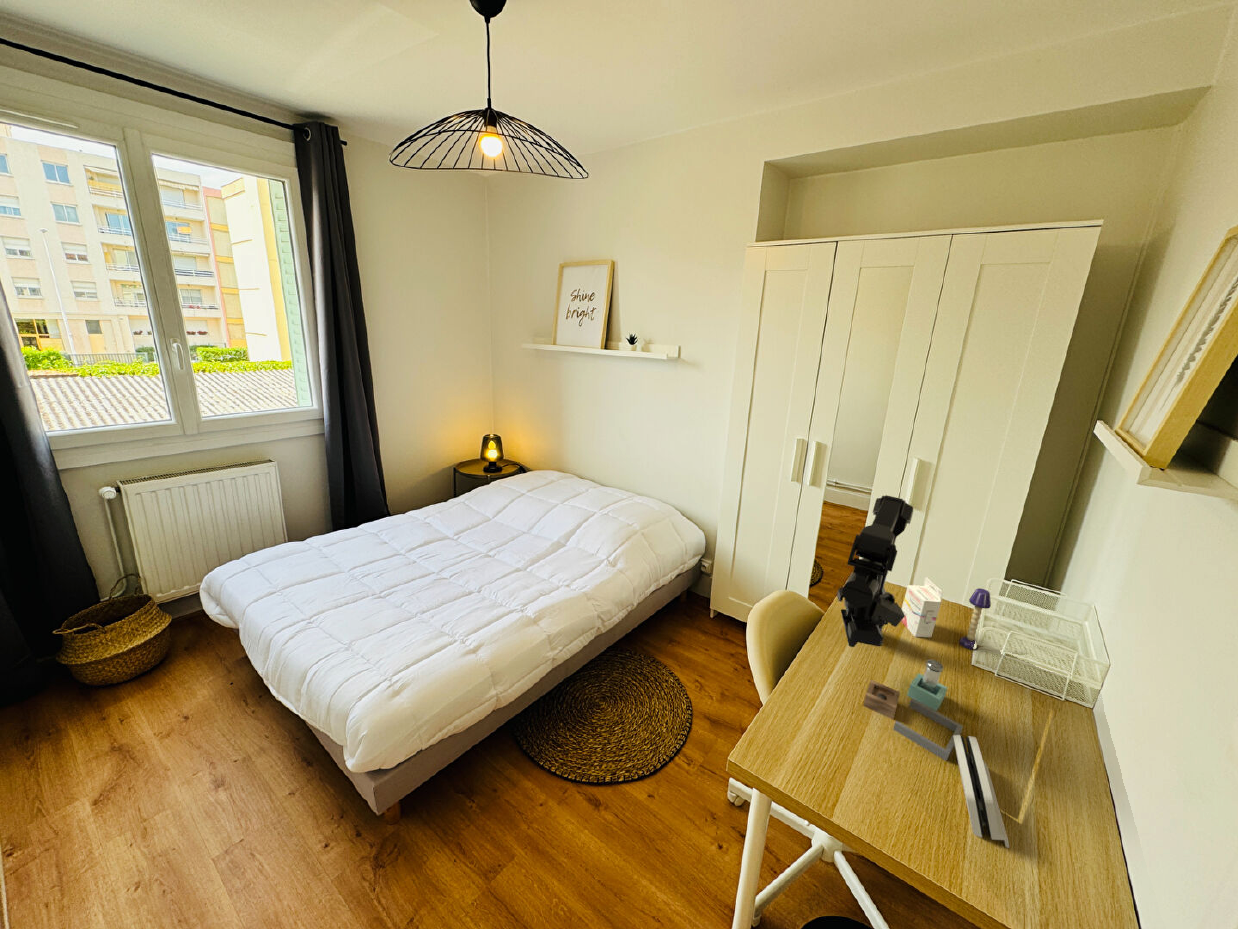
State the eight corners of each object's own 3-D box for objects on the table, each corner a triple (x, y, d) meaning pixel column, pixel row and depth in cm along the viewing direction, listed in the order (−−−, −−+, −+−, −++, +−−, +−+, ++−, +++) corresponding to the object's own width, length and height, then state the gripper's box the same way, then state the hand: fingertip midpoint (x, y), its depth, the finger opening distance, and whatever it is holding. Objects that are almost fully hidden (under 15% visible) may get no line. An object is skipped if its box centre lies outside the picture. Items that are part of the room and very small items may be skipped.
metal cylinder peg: (915, 695, 110) (924, 663, 108) (920, 689, 112) (929, 657, 110) (931, 704, 108) (941, 671, 106) (935, 697, 110) (945, 665, 108)
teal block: (906, 699, 111) (910, 684, 110) (914, 686, 115) (918, 673, 113) (935, 714, 107) (940, 700, 105) (943, 701, 110) (947, 687, 109)
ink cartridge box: (897, 619, 141) (909, 575, 137) (914, 619, 141) (926, 575, 137) (914, 637, 133) (927, 591, 129) (932, 638, 133) (945, 592, 129)
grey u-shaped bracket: (892, 732, 101) (895, 722, 100) (909, 707, 108) (912, 698, 107) (945, 764, 94) (948, 754, 93) (960, 735, 101) (963, 726, 100)
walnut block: (862, 709, 107) (865, 694, 106) (867, 693, 112) (870, 679, 110) (892, 723, 104) (896, 708, 102) (896, 706, 108) (900, 692, 107)
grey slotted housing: (1010, 850, 79) (1001, 798, 77) (975, 844, 81) (965, 793, 80) (987, 770, 93) (980, 725, 92) (958, 766, 95) (950, 722, 94)
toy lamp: (954, 642, 132) (970, 589, 127) (959, 636, 135) (975, 584, 130) (975, 652, 128) (992, 598, 123) (980, 645, 131) (997, 592, 126)
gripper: (918, 618, 95) (900, 682, 100) (893, 573, 112) (879, 629, 117) (858, 606, 98) (843, 669, 102) (842, 564, 115) (831, 620, 120)
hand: (851, 645), depth 110 cm, fingers closed
